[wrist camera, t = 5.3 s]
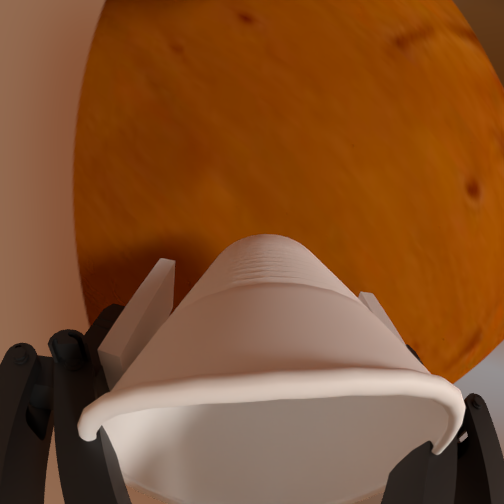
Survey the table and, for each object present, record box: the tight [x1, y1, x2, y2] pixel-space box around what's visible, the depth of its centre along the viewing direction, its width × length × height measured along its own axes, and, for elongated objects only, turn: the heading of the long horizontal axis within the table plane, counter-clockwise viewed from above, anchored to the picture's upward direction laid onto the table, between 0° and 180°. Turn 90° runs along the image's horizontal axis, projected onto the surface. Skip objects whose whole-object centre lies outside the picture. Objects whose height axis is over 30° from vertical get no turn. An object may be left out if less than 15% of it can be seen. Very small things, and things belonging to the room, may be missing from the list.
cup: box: [77, 234, 465, 504], centre depth 10 cm, size 10×10×11 cm
